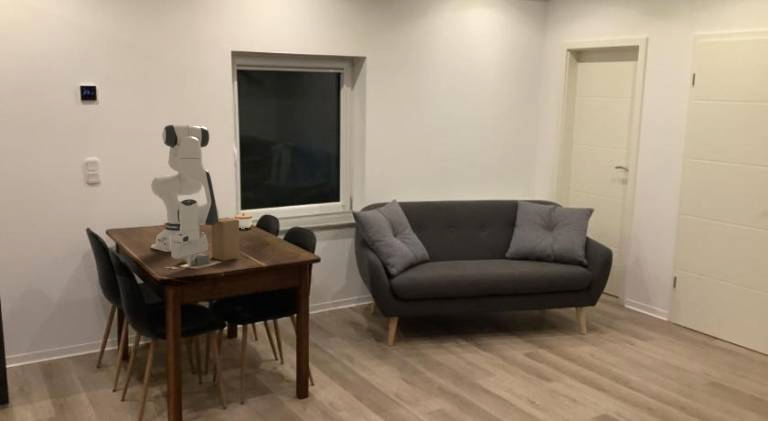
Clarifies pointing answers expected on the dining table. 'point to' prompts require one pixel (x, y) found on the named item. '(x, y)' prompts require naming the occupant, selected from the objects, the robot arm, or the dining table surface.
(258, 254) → the dining table surface
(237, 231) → the wooden block
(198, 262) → the grey rectangular block
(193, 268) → the plywood panel
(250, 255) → the dining table surface
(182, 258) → the peg
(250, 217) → the lidded jar
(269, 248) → the dining table surface
